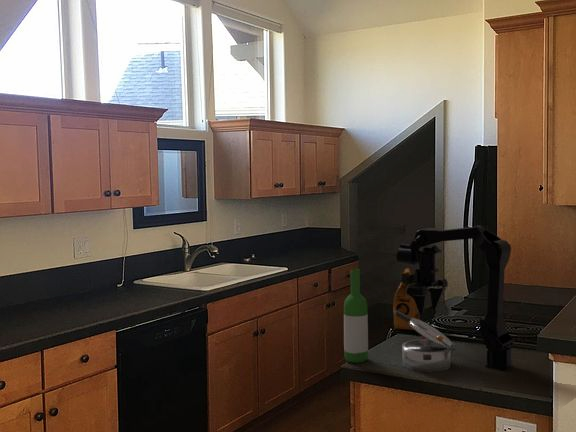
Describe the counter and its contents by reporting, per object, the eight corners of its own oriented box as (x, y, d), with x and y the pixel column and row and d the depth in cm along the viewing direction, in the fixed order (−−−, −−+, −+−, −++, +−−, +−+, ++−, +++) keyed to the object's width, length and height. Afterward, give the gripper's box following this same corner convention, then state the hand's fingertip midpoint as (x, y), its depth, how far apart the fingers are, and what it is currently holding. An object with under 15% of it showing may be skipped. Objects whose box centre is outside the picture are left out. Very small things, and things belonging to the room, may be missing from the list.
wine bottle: (371, 362, 211) (370, 271, 208) (347, 364, 209) (346, 272, 207) (364, 355, 218) (363, 267, 216) (341, 357, 217) (340, 268, 214)
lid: (451, 341, 213) (455, 335, 213) (455, 355, 199) (459, 349, 198) (394, 308, 216) (398, 303, 215) (394, 320, 201) (398, 314, 200)
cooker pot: (448, 355, 216) (448, 338, 216) (452, 375, 197) (452, 355, 197) (402, 354, 219) (402, 336, 218) (402, 373, 200) (402, 354, 199)
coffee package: (389, 328, 251) (389, 272, 249) (397, 321, 262) (397, 267, 260) (415, 331, 247) (414, 274, 245) (422, 323, 258) (422, 268, 256)
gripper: (419, 260, 231) (419, 303, 232) (391, 267, 217) (392, 314, 218) (448, 262, 224) (448, 307, 225) (421, 270, 210) (422, 318, 211)
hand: (427, 311), depth 220 cm, fingers open, 9 cm apart
